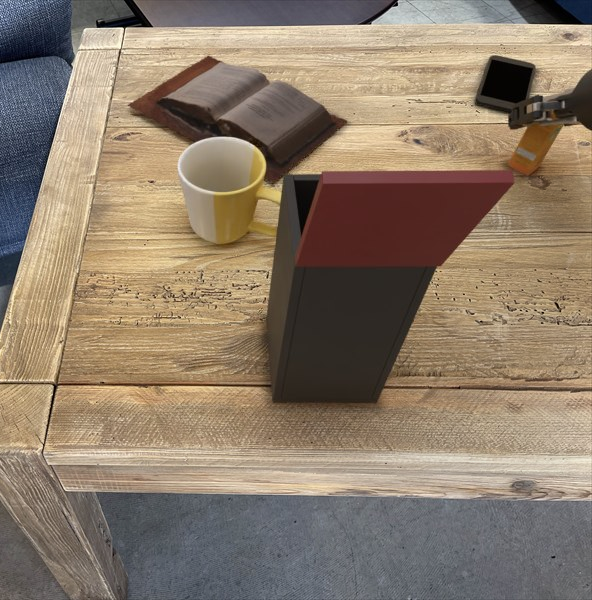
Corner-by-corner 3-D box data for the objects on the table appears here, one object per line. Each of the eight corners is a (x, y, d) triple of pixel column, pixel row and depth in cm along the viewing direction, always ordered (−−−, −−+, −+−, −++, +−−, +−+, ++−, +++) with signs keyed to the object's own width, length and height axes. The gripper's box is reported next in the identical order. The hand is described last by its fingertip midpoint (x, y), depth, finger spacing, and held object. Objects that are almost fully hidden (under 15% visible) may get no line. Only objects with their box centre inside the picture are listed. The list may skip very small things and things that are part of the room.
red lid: (321, 170, 34) (322, 184, 34) (512, 169, 34) (515, 182, 33) (294, 256, 45) (295, 266, 44) (439, 256, 44) (440, 266, 44)
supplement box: (529, 178, 82) (563, 114, 74) (506, 166, 83) (536, 102, 75) (542, 167, 83) (576, 103, 75) (519, 155, 85) (550, 92, 77)
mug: (164, 232, 77) (158, 166, 69) (215, 191, 81) (216, 125, 73) (248, 285, 71) (253, 220, 63) (298, 237, 76) (309, 172, 67)
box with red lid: (266, 319, 68) (283, 173, 52) (360, 319, 67) (408, 173, 51) (272, 402, 61) (294, 266, 45) (377, 403, 61) (438, 265, 45)
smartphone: (535, 67, 98) (538, 62, 98) (524, 116, 90) (526, 111, 89) (488, 58, 101) (490, 52, 100) (472, 105, 92) (474, 100, 92)
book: (273, 188, 82) (277, 161, 78) (126, 109, 93) (124, 82, 90) (348, 128, 92) (355, 101, 89) (208, 63, 103) (209, 37, 100)
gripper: (703, 48, 62) (592, 87, 79) (567, 56, 62) (484, 94, 79) (701, 122, 63) (591, 145, 80) (567, 130, 63) (485, 152, 79)
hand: (538, 119), depth 79 cm, fingers open, 6 cm apart
